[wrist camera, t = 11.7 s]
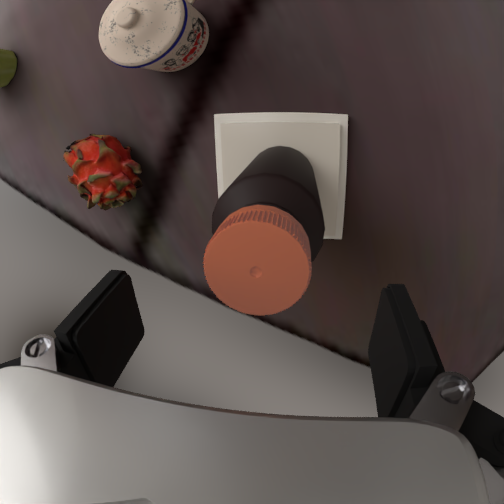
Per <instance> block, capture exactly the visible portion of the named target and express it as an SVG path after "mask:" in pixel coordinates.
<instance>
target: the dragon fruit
mask: <svg viewBox="0 0 504 504" xmlns="http://www.w3.org/2000/svg"><path fill="white" fill-rule="evenodd" d="M89 136H90V137H87V138H85V139H82V140H77V141H74V142H73V143H72V144H71V145H70V146H68V147H67V148H66V149H68V150H69V149H71V150H72V151H69V152H66V151H65V153H64V159H65V161H66V162H67V163H68V165H69V166H70V167H71V168H72V169H73V172H74V175H73V176H72V177H71V176H68V180H69V182H70V183H72V184H74V186H75V187H76V188H77V189H78V191H79V193H80V196H81V197H82V198H84V199H85V200H87V201H88V204H87V208H88V209H90V208H92V207H94V206H95V204H96V203H97V204H98V206H99V207H100V209H104V210H108V209H110V208H111V207H113V208H114V207H115V208H116V207H118V206H119V207H120V206H121V205H123V204H124V203H125V202H126V201H127V202H129V201H131V199H132V197H133V199H134V198H135V196H136V190H138V189H140V188H141V187H142V186H143V184H142V181H141V179H140V178H139V177H138V176H137V175H135V173H137V174H141V172H142V170H141V168H140V164H138V163H137V162H135V161H134V160H131V155H130V150H131V147H130V146H127V147H124V148H123V147H122V145H121V143H120V142H119V141H118V140H117V138H115V137H113V136H109V135H95V134H90V135H89ZM131 151H132V150H131ZM134 185H135V186H137V187H135V186H134Z"/></svg>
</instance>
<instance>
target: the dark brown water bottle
mask: <svg viewBox="0 0 504 504" xmlns="http://www.w3.org/2000/svg"><path fill="white" fill-rule="evenodd" d="M324 232H325V224H324V217H323V211H322V207H321V202H320V197H319V193H318V188H317V184H316V179H315V175H314V171H313V167H312V166H311V164H310V162H309V160H308V159H307V158H306V157H305V156H304V155H303V154H302V153H301V152H300V151H298V150H295V149H293V148H291V147H286V146H275V147H270V148H267V149H266V150H264V151H262V152H260V153H259V154H258V155H257V156H256V157H255V158H254V160H253V161H252V162H251V163H250V164H249V165H248V166H247V167H246V168H245V169H244V170H243V171H242V173H241V174H240V175H239V176H238V177H237V178H236V179H235V180H234V181H233V182H232V184H231V185H230V186H229V187H228V188H227V189H226V190H225V192H224V193H223V194H222V195H221V196H220V197H219V199H218V202H217V204H216V207H215V209H214V212H213V215H212V233H213V237H212V238H211V240H210V241H209V244H208V245H207V248H206V250H205V251H206V252H205V254H204V255H205V256H204V258H203V259H204V262H203V263H204V266H203V267H204V268H205V269H204V272H205V274H204V275H205V276H206V279H207V280H208V282H207V283H209V287H211V291H212V290H213V291H214V294H216V295H217V296H216V297H218V298H219V299H220V300H222V301H223V303H226V305H228V306H229V307H230V308H234V310H235V309H236V310H238V311H241V312H242V313H246V314H247V313H248V314H250V315H251V314H254V315H259V316H260V315H266V314H267V315H269V314H272V315H273V314H275V313H276V314H277V312H281V311H282V310H284V311H285V309H287V308H288V309H289V307H290V306H292V304H296V301H299V299H300V298H302V295H304V291H306V288H308V284H310V282H309V280H311V271H312V269H311V262H312V261H313V260H314V259H315V257H316V256H317V254H318V252H319V250H320V248H321V247H322V243H323V238H324Z"/></svg>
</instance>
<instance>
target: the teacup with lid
mask: <svg viewBox="0 0 504 504" xmlns="http://www.w3.org/2000/svg"><path fill="white" fill-rule="evenodd" d="M194 1H195V0H113V1H112V2H111V4H110V5H109V6H108V8H107V9H106V11H105V12H104V15H103V17H102V19H101V22H100V27H99V41H100V45H101V48H102V50H103V52H104V54H105V55H106V56H107V57H108V58H109V59H110V60H111V61H112V62H113V63H115V64H117V65H119V66H122V67H126V68H140V67H141V68H146V69H151V70H156V71H161V72H174V71H179V70H182V69H184V68H186V67H188V66H190V65H191V64H192V63H194V62H195V61H196V60H197V59H198V58H199V57H200V56H201V54H202V53H203V51H204V50H205V48H206V45H207V42H208V38H209V28H208V24H207V22H206V20H205V18H204V17H203V15H202V14H201V13H200V12H199V11H197V10H196V9H195V8H194V7H193V6H192V4H193V3H194Z"/></svg>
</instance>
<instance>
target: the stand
mask: <svg viewBox="0 0 504 504" xmlns="http://www.w3.org/2000/svg"><path fill="white" fill-rule="evenodd" d="M214 124H215V144H216V163H217V181H218V197H220V196H221V195H222V194H223V193H224V192H225V190H226V189H227V188H228V187H229V186H230V185H231V184H232V182H233V181H234V180H235V179H236V178H237V177H238V176H239V175H240V174H241V173H242V171H243V170H244V169H245V168H246V167H247V166H248V165H249V164H250V163H251V162H252V161H253V160H254V158H255V157H256V156H257V155H258V154H259V153H260V152H262V151H264V150H266V149H267V148H270V147H275V146H286V147H291V148H293V149H295V150H298V151H300V152H301V153H302V154H303V155H304V156H305V157H306V158H307V159H308V160H309V162H310V164H311V166H312V167H313V171H314V175H315V179H316V184H317V188H318V193H319V197H320V202H321V207H322V211H323V217H324V224H325V232H324V238H323V239H342V232H343V220H344V206H345V190H346V170H347V140H348V115H346V114H329V113H302V112H256V113H228V114H214Z"/></svg>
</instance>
